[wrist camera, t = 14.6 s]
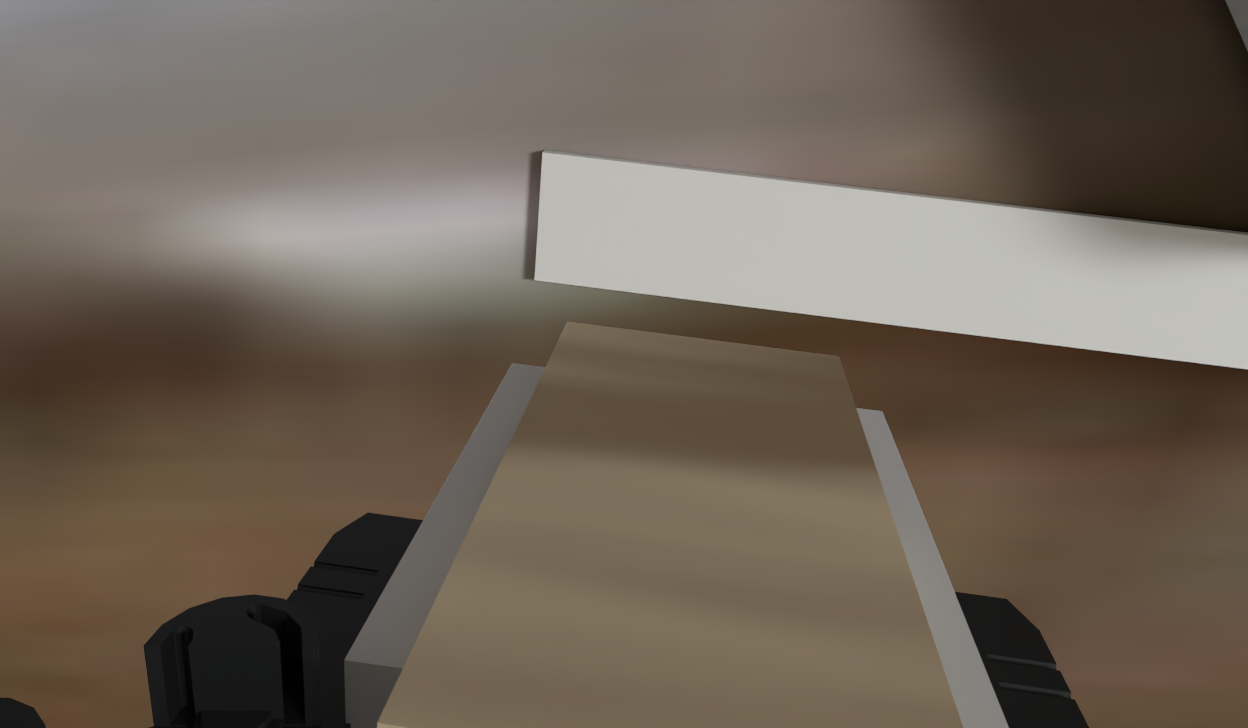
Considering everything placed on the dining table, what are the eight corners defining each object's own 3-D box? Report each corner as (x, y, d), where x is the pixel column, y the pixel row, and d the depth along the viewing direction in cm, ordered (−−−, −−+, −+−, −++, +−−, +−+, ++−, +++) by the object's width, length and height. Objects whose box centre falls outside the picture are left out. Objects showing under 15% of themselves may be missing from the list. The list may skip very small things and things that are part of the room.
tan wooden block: (567, 321, 13) (297, 890, 5) (839, 356, 13) (1058, 1014, 5) (548, 549, 15) (320, 1286, 6) (792, 583, 15) (891, 1391, 6)
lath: (545, 149, 27) (542, 152, 27) (1806, 298, 25) (1822, 302, 25) (536, 276, 29) (534, 280, 28) (1725, 424, 27) (1739, 430, 26)
